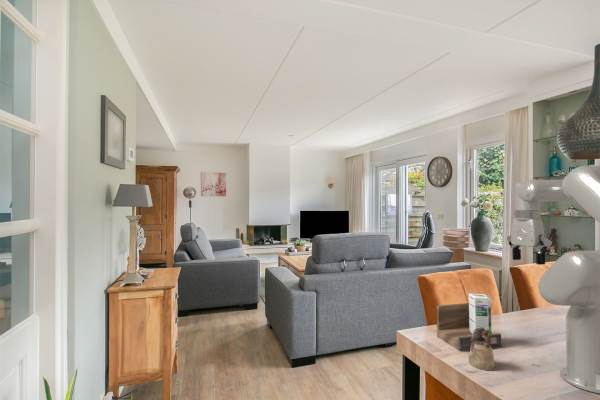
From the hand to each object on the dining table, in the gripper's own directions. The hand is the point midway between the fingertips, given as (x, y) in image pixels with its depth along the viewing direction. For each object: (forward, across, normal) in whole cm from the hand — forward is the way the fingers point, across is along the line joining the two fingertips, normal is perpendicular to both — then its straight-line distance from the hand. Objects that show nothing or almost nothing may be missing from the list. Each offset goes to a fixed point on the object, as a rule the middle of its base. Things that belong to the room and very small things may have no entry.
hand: (528, 261), depth 117 cm
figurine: (+31, +9, -28) cm, 43 cm away
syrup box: (+28, -6, -16) cm, 32 cm away
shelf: (+30, -7, -20) cm, 37 cm away
